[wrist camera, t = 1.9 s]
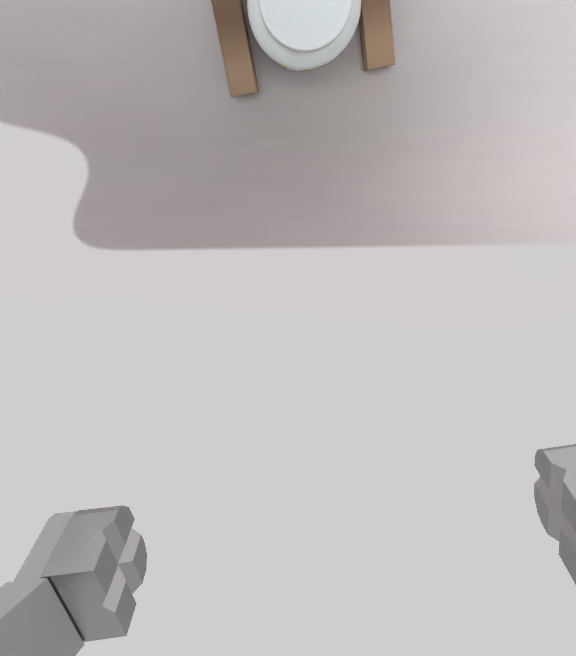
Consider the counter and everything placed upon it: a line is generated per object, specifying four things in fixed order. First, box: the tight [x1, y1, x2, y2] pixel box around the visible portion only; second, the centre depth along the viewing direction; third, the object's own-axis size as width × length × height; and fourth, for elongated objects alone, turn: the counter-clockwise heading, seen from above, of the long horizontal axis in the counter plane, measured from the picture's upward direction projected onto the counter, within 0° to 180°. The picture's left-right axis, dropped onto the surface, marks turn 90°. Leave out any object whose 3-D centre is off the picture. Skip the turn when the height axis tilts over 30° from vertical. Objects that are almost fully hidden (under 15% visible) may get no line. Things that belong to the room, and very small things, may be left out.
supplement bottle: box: [247, 0, 361, 71], centre depth 26 cm, size 5×5×10 cm
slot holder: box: [212, 0, 395, 97], centre depth 29 cm, size 8×10×2 cm
